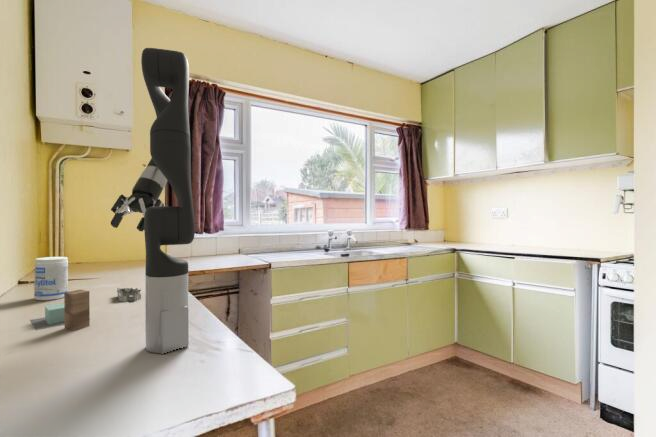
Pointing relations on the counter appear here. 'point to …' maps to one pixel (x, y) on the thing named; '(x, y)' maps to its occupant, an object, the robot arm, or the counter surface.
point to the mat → (44, 324)
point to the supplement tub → (50, 278)
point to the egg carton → (128, 294)
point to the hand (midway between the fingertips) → (126, 228)
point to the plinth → (54, 313)
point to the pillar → (76, 309)
